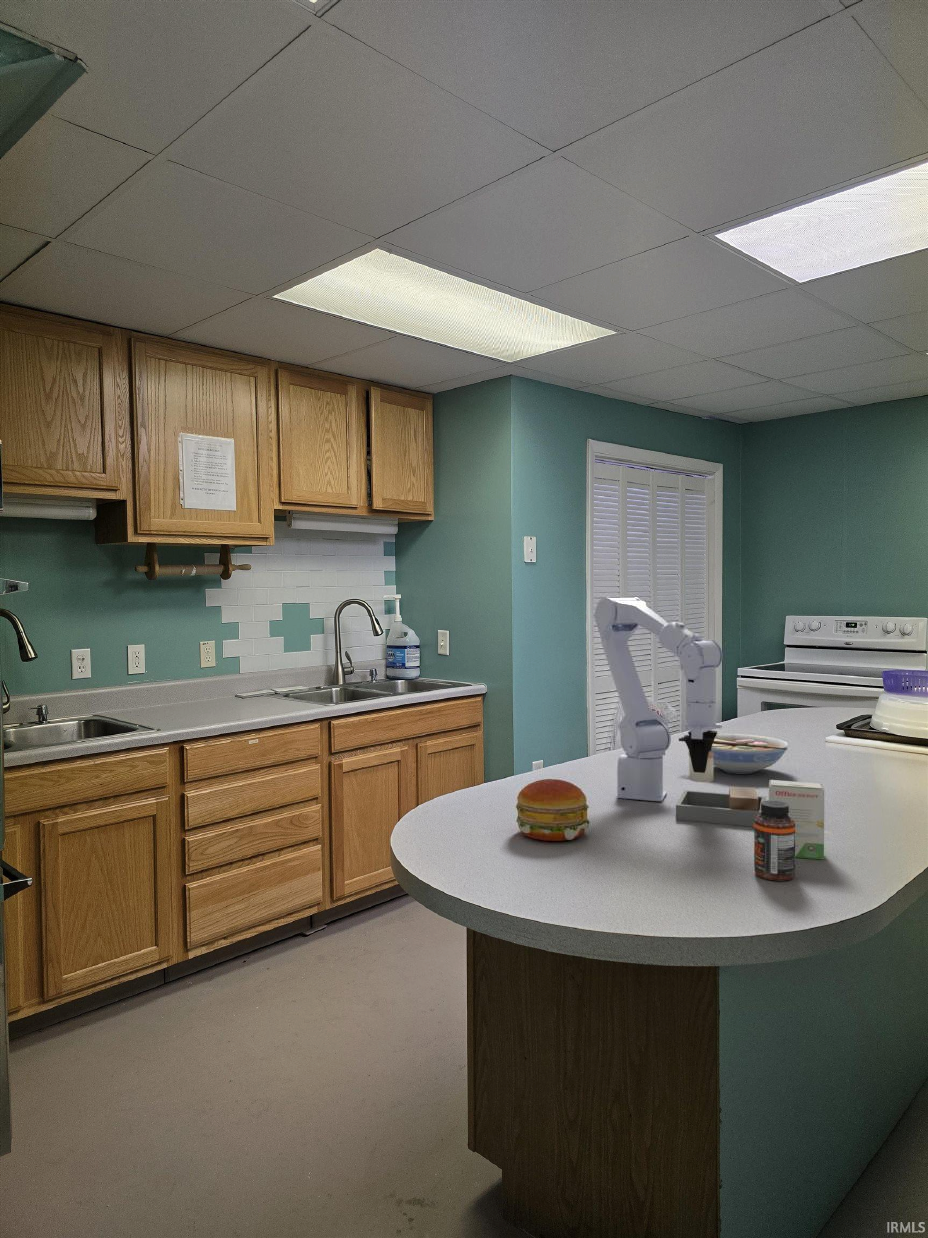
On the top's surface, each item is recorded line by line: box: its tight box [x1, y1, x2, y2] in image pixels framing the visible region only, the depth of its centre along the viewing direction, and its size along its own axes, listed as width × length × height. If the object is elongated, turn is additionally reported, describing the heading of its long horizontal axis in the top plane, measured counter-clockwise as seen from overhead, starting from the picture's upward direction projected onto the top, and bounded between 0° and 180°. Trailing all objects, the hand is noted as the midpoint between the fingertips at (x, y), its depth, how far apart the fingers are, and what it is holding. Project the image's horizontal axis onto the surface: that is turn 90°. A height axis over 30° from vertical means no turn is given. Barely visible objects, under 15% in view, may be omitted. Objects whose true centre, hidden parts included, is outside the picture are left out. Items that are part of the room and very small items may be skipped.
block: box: [728, 786, 759, 811], centre depth 159 cm, size 5×9×5 cm, turn 164°
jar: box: [688, 751, 714, 783], centre depth 162 cm, size 5×5×6 cm
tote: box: [675, 789, 767, 828], centre depth 161 cm, size 16×13×3 cm
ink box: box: [768, 779, 825, 860], centre depth 137 cm, size 9×5×12 cm, turn 71°
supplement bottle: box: [753, 799, 796, 882], centre depth 126 cm, size 6×6×11 cm
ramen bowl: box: [678, 733, 789, 775], centre depth 201 cm, size 25×23×8 cm
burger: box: [515, 778, 591, 842], centre depth 149 cm, size 14×14×10 cm
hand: (700, 769), depth 162 cm, fingers closed on jar, 5 cm apart
